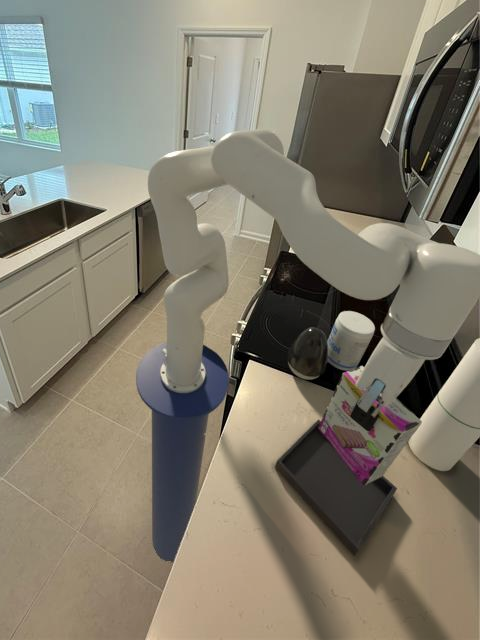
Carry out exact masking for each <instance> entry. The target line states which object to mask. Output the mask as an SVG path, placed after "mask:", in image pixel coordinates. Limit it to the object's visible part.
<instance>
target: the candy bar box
mask: <svg viewBox="0 0 480 640" xmlns="http://www.w3.org/2000/svg"><path fill="white" fill-rule="evenodd" d="M364 367H365V366H363V365H360V366H357V367H356V368H355V369H353V370H351V371H345V372H342V374H341V377H340V379H339V381H338V383H337V385H336V388H335V390H334V391H333V393H332V395H331V398H330V401H329V403H328V404H327V407H326V409H325V412H324V413H323V416H322V418H321V420H320V421H321V422H320V424H319V427H318V429H319V430H320V431H321V432H322V434H323V435H324V436H325V437H326V439H327V440H328V441H329V443H330V444H331V445H332V447H333V448H334V449H335V450H336V452H337V453H338V454H339V456H340V457H341V458H342V460H343V461H344V462H345V463H346V465H347V466H348V467H349V469H350V470H351V471H352V472H353V474H354V475H355V476H356V478H357V479H358V480H359V482H360V483H361V484H362V486H365V485H367V484H369V483H370V482H372V481H374V480H376V479H378V478H380V477H382V476H384V475H385V473H386V472H387V471H388V469H389V468H390V466H391V465H392V464H393V463H394V461H395V459H396V458H397V457H398V456H399V454H400V453H401V452H402V451H403V449H404V447H405V446H406V445H407V444H408V441H409V439H410V438H411V437H412V435H413V434H414V433H415V432H416V430H417V429H418V427H419V426H420V425H421V423H422V421H421V420H420V418H419V417H417V416H416V414H415V413H414V412H413V411H411V410H410V409H409V408H408V407H407V406H406V405H405V404H404V403H403V402H401V400H399V398H397V397H396V398H395V399H394V400H393V401H392V402H391V404H390V405H389V406H387V407H384V406H382V408H381V409H380V411H379V413H378V414H379V417H378V419H377V420H376V422H375V424H374V426H373V427H372V429H371V430H370V431H366V430H365V429H364V428H363V427H362V426H360V425H359V424H358V423H357V422H355V421H354V420H353V419H352V418H351V417H350V415H351V413H352V411H353V409H354V407H355V405H356V403H357V401H358V400H359V399H360V398H361V396H362V394H363V393H364V391H365V389H364V390H362V391H361V390H360V389H358V388H357V387H356V381H357V380H358V378H359V376H360V374H361V373H362V371H363V369H364ZM380 396H381V397H382V394H381V393H380ZM378 403H379V402H377V401H375V402H374V404H373V405H372V406H373V407H374V408H376V406H377V405H378Z"/></svg>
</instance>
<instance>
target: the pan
mask: <svg viewBox="0 0 480 640" xmlns="http://www.w3.org/2000/svg"><path fill="white" fill-rule="evenodd" d="M320 422H321V420H320V419H317V420H316V421H315V422H314V423H313V424H312V425H311V426H310V427H309V428H308V429H307V430H306V431H305V432H304V433H303V434H302V435H301V436H300V437H299V438H298V439H297V440H296V441H295V442H294V443H293V444H292V445H291V446H290V447H289V448H288V449H287V450H286V451H285V452H284V453H283V454H282V455H281V456H280V457H278V459H277V460H276V463H275V465H274V468H275V470H276V471H277V472H278V474H280V475H281V477H282V478H283V479H284V480H285V481H286V482H287V483H288V485H290V486H291V488H292V489H293V490H294V491H295V492H296V493H297V494H298V496H299V497H300V498H301V499H302V500H303V501H304V502H305V503H306V504H307V506H309V508H310V509H311V510H312V511H313V513H315V515H316V516H318V518H319V519H320V520H321V521H322V522H323V523H324V524H325V526H326V527H327V528H328V529H329V530H330V531H331V532H332V534H333V535H334V536H335V537H336V538H337V539H338V540H339V541H340V542H341V543H342V545H344V547H345V548H346V549H347V550H348V552H350V553H351V554H352V556H353V557H356V556H357V555H358V554H359V552H360V551H361V549H362V547H363V546H364V544H365V543H366V540H367V539H368V537H369V536H370V534H371V533H372V531H373V529H374V528H375V526H376V524H377V522H378V521H379V520H380V518H381V516H382V514H383V513H384V512H385V509H386V508H387V506H388V504H389V503H390V502H391V500H392V498H393V497H394V494H395V493H396V491H397V490H398V487H396V486H395V485H394V484H393V483H392V482H391V481H389V480H388V479H387V477H385V476H384V475H383V476H382V477H380V478H378V479H376V480H374V481H372V482H370V483H369V484H367V485H365V486H362V484H361V483H360V482H359V480H358V479H357V478H356V476H355V475H354V474H353V472H352V471H351V470H350V469H349V467H348V466H347V465H346V463H345V462H344V461H343V460H342V458H341V457H340V456H339V454H338V453H337V452H336V450H335V449H334V448H333V447H332V445H331V444H330V443H329V441H328V440H327V439H326V437H325V436H324V435H323V434H322V432H321V431H320V430H319V429H318V427H319V424H320Z"/></svg>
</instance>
